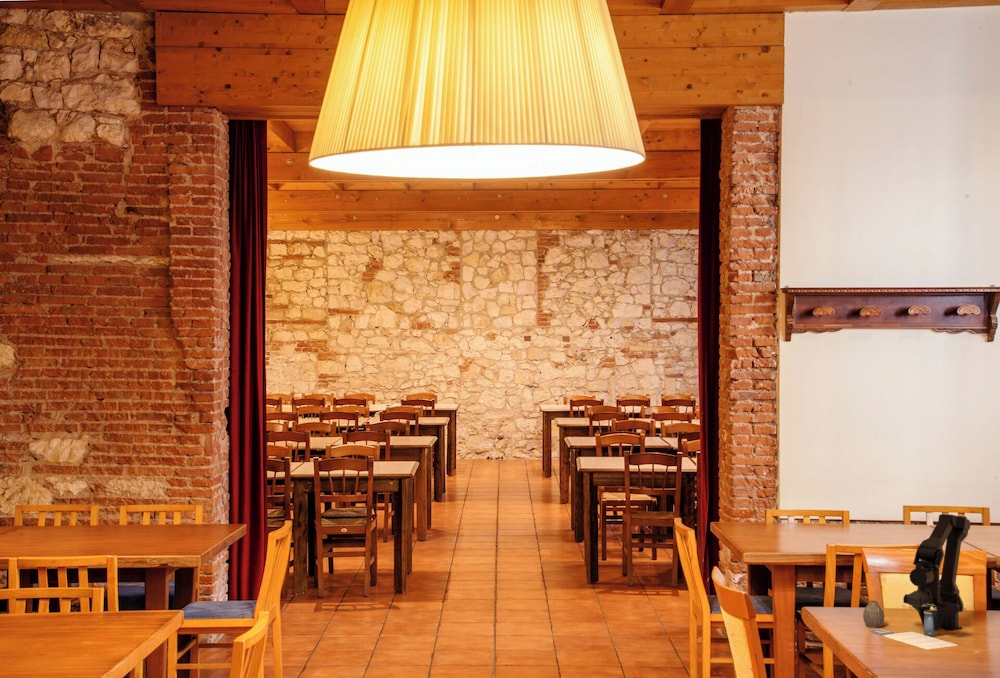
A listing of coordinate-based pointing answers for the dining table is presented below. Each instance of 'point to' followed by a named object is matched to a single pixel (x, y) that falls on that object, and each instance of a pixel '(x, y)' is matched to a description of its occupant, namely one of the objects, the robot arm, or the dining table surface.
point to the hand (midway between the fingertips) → (930, 629)
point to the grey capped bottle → (929, 624)
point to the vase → (873, 615)
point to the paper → (920, 640)
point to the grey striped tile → (882, 632)
